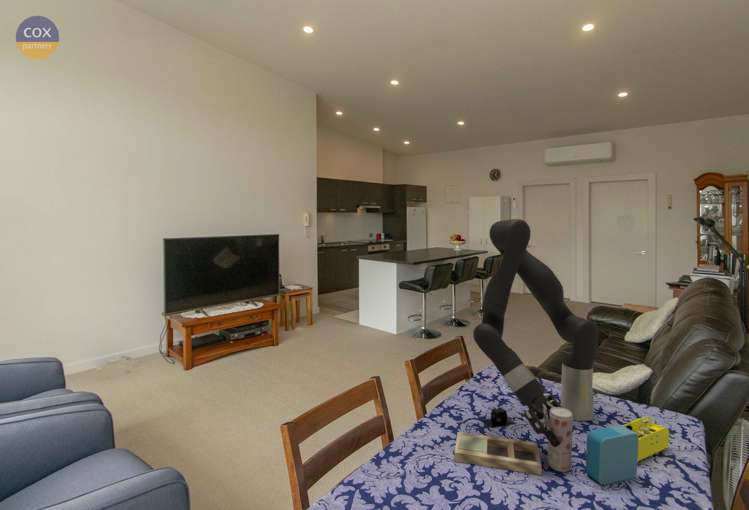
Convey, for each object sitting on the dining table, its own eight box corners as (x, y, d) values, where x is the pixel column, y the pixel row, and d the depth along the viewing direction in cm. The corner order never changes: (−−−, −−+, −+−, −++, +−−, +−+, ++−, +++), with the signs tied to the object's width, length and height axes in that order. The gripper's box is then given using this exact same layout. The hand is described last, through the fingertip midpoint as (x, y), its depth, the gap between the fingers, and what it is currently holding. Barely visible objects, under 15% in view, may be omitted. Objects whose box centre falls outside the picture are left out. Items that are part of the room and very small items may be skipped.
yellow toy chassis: (648, 440, 117) (649, 413, 117) (669, 450, 112) (671, 422, 112) (614, 455, 110) (616, 426, 109) (636, 466, 105) (637, 436, 104)
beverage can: (575, 471, 103) (578, 415, 102) (556, 474, 102) (558, 418, 100) (561, 458, 108) (563, 405, 107) (542, 461, 107) (544, 407, 106)
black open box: (508, 415, 134) (509, 402, 133) (522, 426, 127) (522, 412, 126) (476, 420, 130) (476, 407, 130) (488, 432, 123) (488, 418, 123)
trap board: (536, 451, 112) (536, 442, 111) (541, 475, 101) (541, 465, 101) (457, 439, 118) (457, 431, 118) (454, 461, 107) (454, 451, 107)
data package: (621, 467, 104) (623, 423, 104) (637, 477, 100) (639, 432, 99) (584, 475, 101) (586, 430, 100) (599, 486, 97) (601, 439, 96)
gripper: (521, 385, 104) (564, 444, 96) (544, 371, 114) (585, 423, 106) (502, 398, 108) (542, 455, 101) (525, 383, 118) (564, 435, 111)
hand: (564, 439), depth 103 cm, fingers open, 8 cm apart
